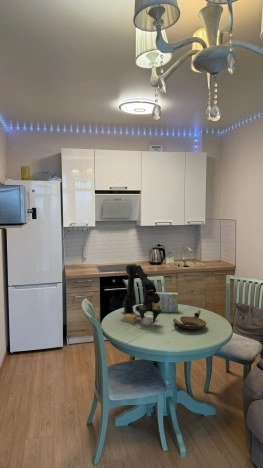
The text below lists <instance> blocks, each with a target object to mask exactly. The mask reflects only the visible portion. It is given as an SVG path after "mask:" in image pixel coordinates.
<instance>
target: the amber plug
mask: <svg viewBox="0 0 263 468" xmlns="http://www.w3.org/2000/svg"><path fill="white" fill-rule="evenodd" d="M123 319H125V320H129V321H133V322H136V321H137V316H135V315H133V314H132V313H126V314H124V315H123Z"/></svg>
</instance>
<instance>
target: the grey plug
mask: <svg viewBox="0 0 263 468" xmlns="http://www.w3.org/2000/svg"><path fill="white" fill-rule="evenodd" d="M145 316H146V317H144V318H143V324H146V325H149V324H150V323H152V322H153V315H145Z"/></svg>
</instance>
